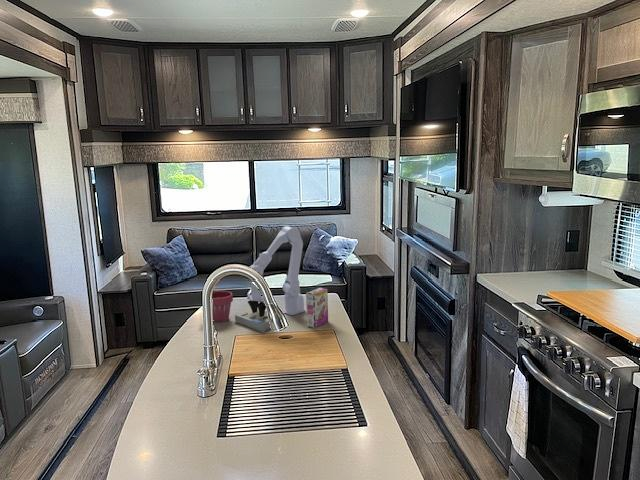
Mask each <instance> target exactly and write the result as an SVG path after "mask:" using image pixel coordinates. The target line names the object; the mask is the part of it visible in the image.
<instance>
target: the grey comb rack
mask: <svg viewBox="0 0 640 480" xmlns="http://www.w3.org/2000/svg"><path fill="white" fill-rule="evenodd" d="M246 315H249V312H244V313H240V314H239V313H238V314H235V315H234V320H235V321H234V322H235V323H238V324H240V325H242V326H246V327H248V328H251V329H254V330H256V331H258V332H262V333H264V332H266V331H267V330H270V329H271V328H270V324H269V320H266V321H264V317H263V318H258V319H256V316H255V315H253V316H249V317H244V316H246Z"/></svg>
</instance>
